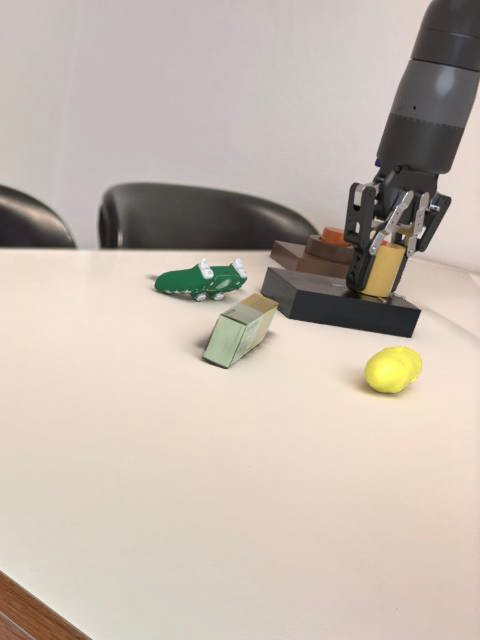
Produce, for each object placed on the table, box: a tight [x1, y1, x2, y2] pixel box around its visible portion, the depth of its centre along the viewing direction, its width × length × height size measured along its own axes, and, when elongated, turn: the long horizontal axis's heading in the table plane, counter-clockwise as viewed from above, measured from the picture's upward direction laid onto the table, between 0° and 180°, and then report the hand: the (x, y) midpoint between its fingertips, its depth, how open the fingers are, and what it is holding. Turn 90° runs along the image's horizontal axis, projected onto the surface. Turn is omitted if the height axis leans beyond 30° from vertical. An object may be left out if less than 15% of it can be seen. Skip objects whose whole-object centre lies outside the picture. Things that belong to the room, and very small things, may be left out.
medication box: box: [201, 292, 279, 370], centre depth 94 cm, size 12×3×4 cm, turn 154°
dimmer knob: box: [353, 239, 406, 297], centre depth 114 cm, size 4×4×5 cm
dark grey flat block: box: [259, 266, 422, 339], centre depth 116 cm, size 14×10×3 cm
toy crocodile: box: [153, 257, 248, 302], centre depth 111 cm, size 9×4×6 cm
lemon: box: [363, 345, 423, 394], centre depth 92 cm, size 4×8×4 cm, turn 137°
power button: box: [321, 226, 349, 246], centre depth 136 cm, size 4×4×2 cm
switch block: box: [269, 234, 354, 280], centre depth 137 cm, size 12×10×4 cm
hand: (370, 288), depth 115 cm, fingers closed on dimmer knob, 4 cm apart
